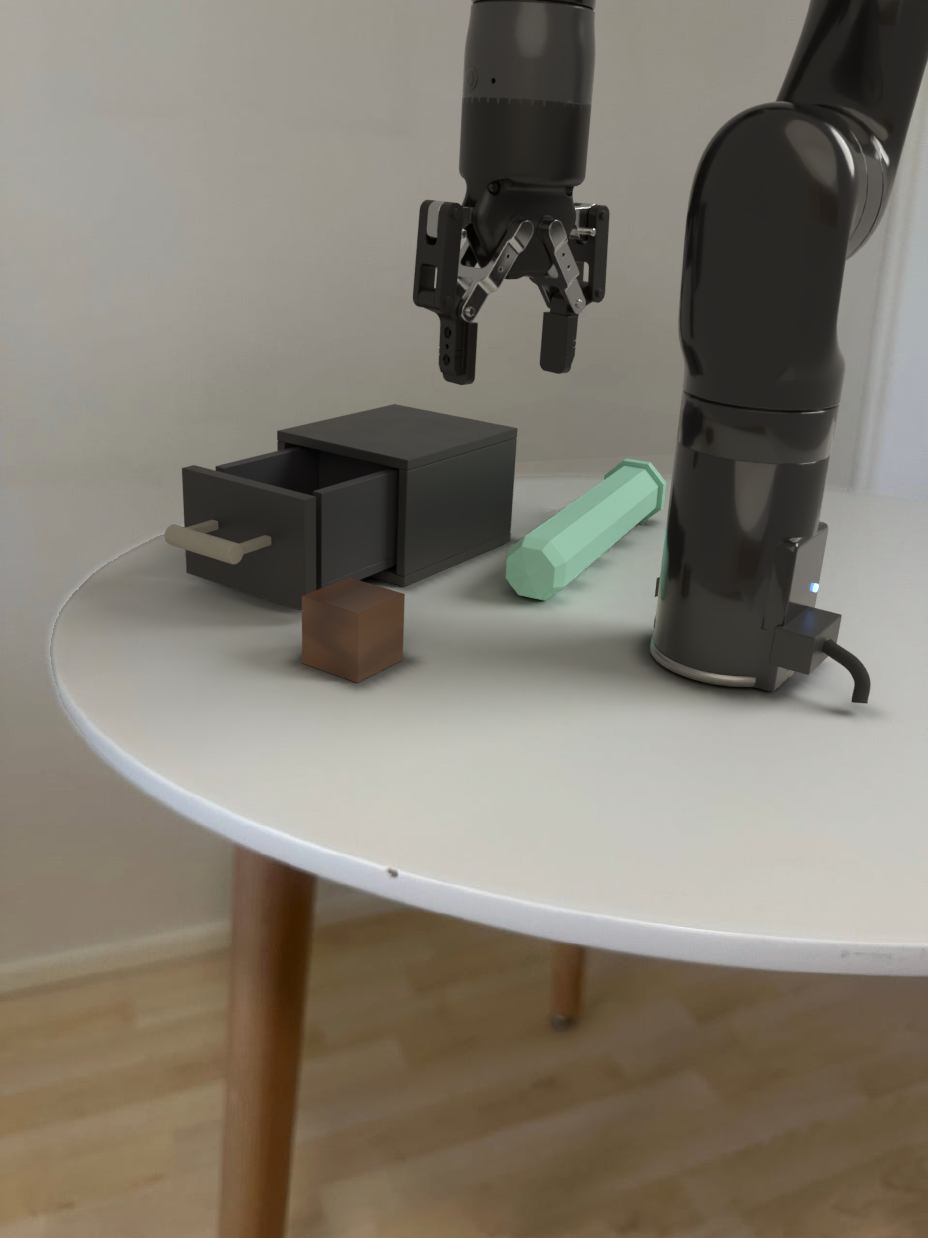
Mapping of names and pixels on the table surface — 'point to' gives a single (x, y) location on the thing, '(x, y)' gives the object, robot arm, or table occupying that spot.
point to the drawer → (288, 522)
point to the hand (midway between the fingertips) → (508, 376)
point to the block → (352, 629)
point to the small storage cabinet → (429, 480)
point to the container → (584, 529)
